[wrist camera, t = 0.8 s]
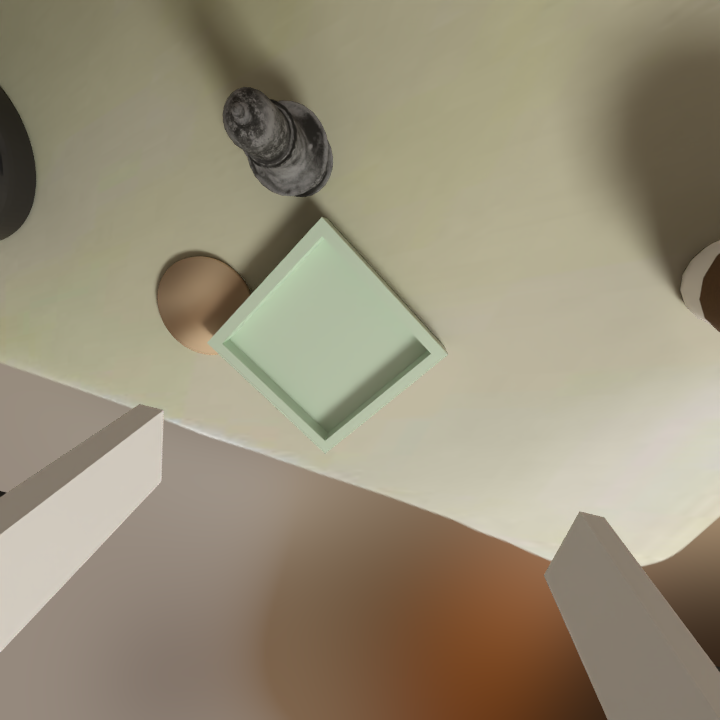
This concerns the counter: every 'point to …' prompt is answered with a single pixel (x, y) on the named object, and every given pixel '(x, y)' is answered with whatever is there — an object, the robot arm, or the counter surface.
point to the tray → (327, 338)
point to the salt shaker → (279, 142)
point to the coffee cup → (703, 285)
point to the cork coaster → (199, 300)
